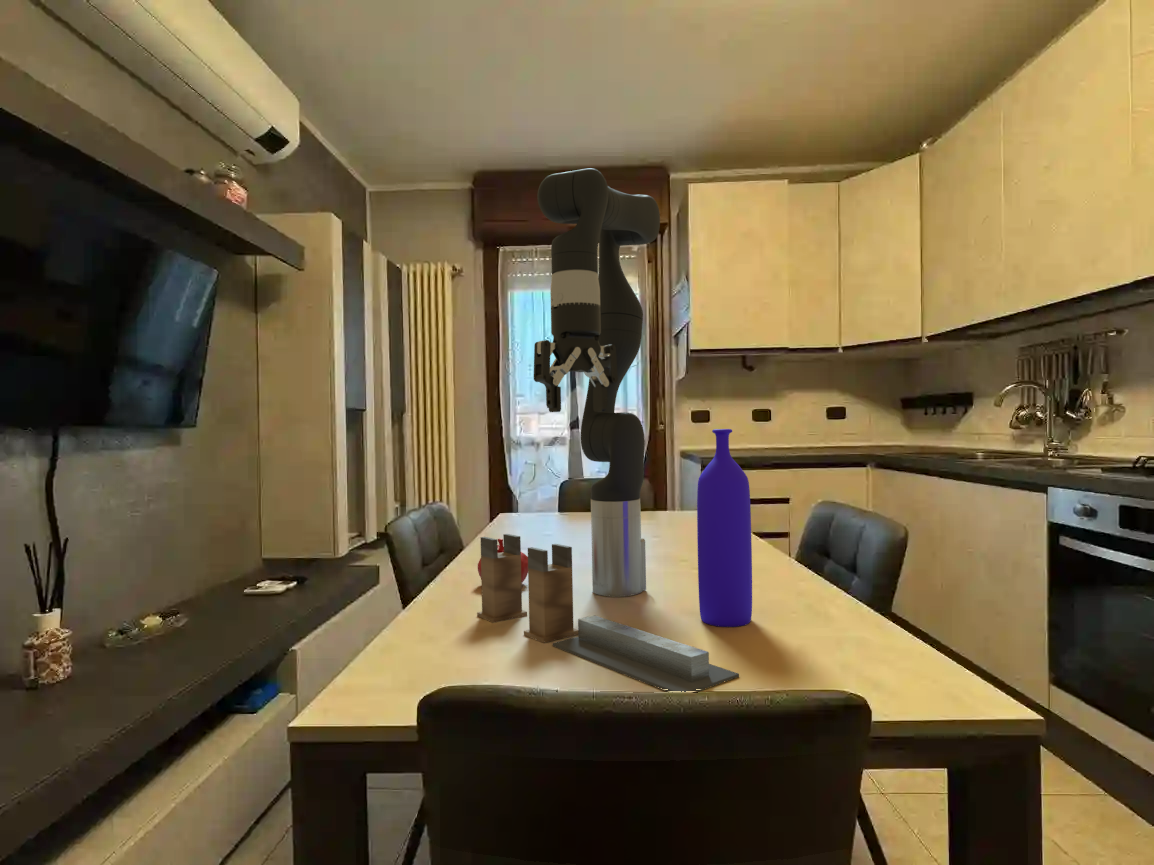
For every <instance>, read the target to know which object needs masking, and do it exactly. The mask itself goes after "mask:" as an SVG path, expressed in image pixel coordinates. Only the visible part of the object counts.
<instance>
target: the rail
mask: <svg viewBox="0 0 1154 865" xmlns="http://www.w3.org/2000/svg"><path fill="white" fill-rule="evenodd" d="M577 627H578V629H577V630H578V635H577V637H578V640H580V641H582V642H585V643H588V644H590V645H593V646H596V647H598V648H601V649H604V650H606V651H609V652H612V653H614V654H617V655H620V656H622V657H625V658H628V659H630V660H633V661H636V662H638V663H641V664H644V665H646V666H649V667H652V668H654V669H657V670H659V671H662V672H665V673H667V674H670V675H673V676H675V677H678V678H681V679H683V680H686V681H689V682H691V683H692V682H695V681H698V680H701V679H704V678H707V677H709V664H710V656H709V655H710V653H709V651H707V650H703V649H701V648H697V647H695V646H691V645H688V644H685V643H681V642H679V641H675V640H672V639H669V638H666V637H662V636H660V635H657V634H653V633H651V632H648V631H644V630H642V629H638V628H636V627H632V626H629V625H625V624H623V623H619V622H616V621H615V620H614V621H613V620H610V619H607V618H603V617H602V616H598V615H591V616H586V617H581V618H578V619H577Z"/></svg>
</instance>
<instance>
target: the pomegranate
mask: <svg viewBox="0 0 1154 865" xmlns="http://www.w3.org/2000/svg"><path fill="white" fill-rule="evenodd" d="M497 543H498V544H497V547H498V553H501V552H504V538H497ZM477 572H478V575H479V576H478V577H480V578H481V557H480V558H479V560H478V563H477ZM527 576H528V555H526V554H525V553H524V552H523V551H521V584H523V583H524V581H525V580H526V578H528V577H527Z"/></svg>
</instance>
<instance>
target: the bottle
mask: <svg viewBox="0 0 1154 865" xmlns="http://www.w3.org/2000/svg"><path fill="white" fill-rule="evenodd" d="M711 432H712V433H713V434H714V435H715V446H716V447H715V453H714V456H713V458H712V459H711V461H710V462H709V463H708V464H707V465H706V466H705V468H704V470H702V472H701V474H700V475H699V477H698V480H697V492H696V493H697V497H696V500H697V501H696V504H697V505H696V508H697V509H696V511H697V512H696V515H697V516H696V520H697V521H696V526H697V528H696V529H697V530H696V533H697V534H696V535H697V538H696V539H697V573H698V574H697V576H698V577H697V579H698V581H697V582H698V604H699V616H700V619H701V621H702V622H703V623H704V624H706V625H711V626H713V627H714V626H715V627H723V628H734V627H735V628H737V627H743V626H747V625H748V624H750V622H751V621H752V614H753V561H752V560H753V559H752V558H753V555H752V554H753V550H752V548H753V547H752V546H753V545H752V516H751V515H752V513H751V512H752V511H751V508H752V507H751V492H750V491H751V490H750V483H749V478H748V476H747V475H746V473H745V471H744V470H743V469H742V468H741V466H740V465H739V464H738V463H737V462H736V460H734V458H733V457H732V454H731V452H730V438H729V437H730V434H731V433H733V429H730V428H720V429H719V428H715V429H712V431H711Z"/></svg>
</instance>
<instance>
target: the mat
mask: <svg viewBox="0 0 1154 865" xmlns="http://www.w3.org/2000/svg"><path fill="white" fill-rule="evenodd" d="M552 646H553V647H554V648H558V649H560V650H562V651H565V652H566V653H569V654H571V655H575V656H577V657H580V658H581V659H585V660H587V661H589V662H592V663H595V664H597V665H600V666H603V667H604V668H607V669H609V670H612V671H614V672H617V673H619V674H621V675H624V674H625V676H627V677H629V676H630V677H629V678H632V679H634V678H635V680H636V681H639V680H640V681H639V682H642V683H644V682H645V683H644V684H646V685H649V684H650V685H649V686H651V685H653V686H652V687H654V686H656V687H659V688H662V689H668V690H665V692H666V691H681V692H682V691H684V692H686V691H698V692H700V691H702V690H696V689H704V690H706V689H705V688H707V689H709V688H711V687H710V686H712V687H714V686H713V685H715V686H717V685H716V684H718V685H720V684H719V683H721V684H723V683H722V682H724V681H726V682H728V681H727V680H729V681H731V680H730V679H732V680H734V679H733V678H735V679H737V678H736V677H738V678H739V677H740V673H738V672H735V671H732V670H729V669H726V668H723V667H721V666H718V665H714V664H710V663H709V677H707V678H704V679H701V680H698V681H695V682H692V683H691V682H689V681H686V680H683V679H681V678H678V677H675V676H673V675H670V674H667V673H665V672H662V671H659V670H657V669H654V668H652V667H649V666H646V665H644V664H641V663H638V662H636V661H633V660H630V659H628V658H625V657H622V656H620V655H617V654H614V653H612V652H609V651H606V650H604V649H601V648H598V647H596V646H593V645H590V644H588V643H585V642H582V641H580V640H578V636H575V637H572V638H567V639H562V640H559V641H555V642H553V643H552ZM724 683H725V682H724ZM656 687H655V688H656ZM708 687H709V688H708ZM659 688H658V689H659Z"/></svg>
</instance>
